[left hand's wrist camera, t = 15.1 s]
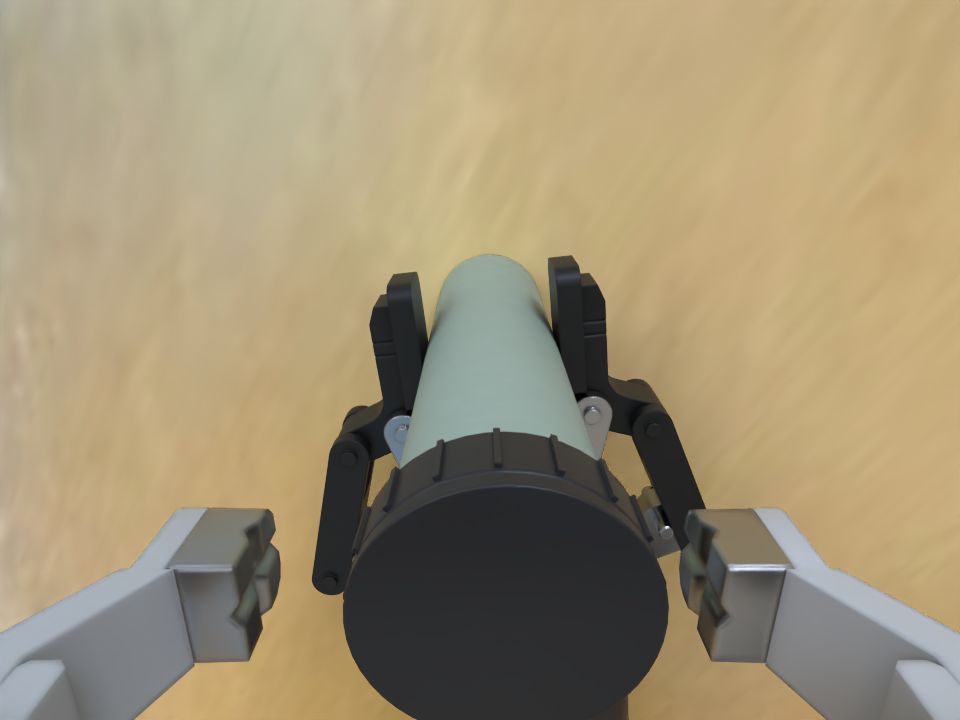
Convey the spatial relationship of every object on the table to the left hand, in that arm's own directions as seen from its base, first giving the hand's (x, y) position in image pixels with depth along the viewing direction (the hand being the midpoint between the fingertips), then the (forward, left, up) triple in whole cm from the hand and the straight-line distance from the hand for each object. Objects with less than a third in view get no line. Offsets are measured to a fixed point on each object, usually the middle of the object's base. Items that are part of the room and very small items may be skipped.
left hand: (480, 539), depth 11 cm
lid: (0, 0, +2) cm, 2 cm away
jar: (0, 0, -15) cm, 15 cm away
